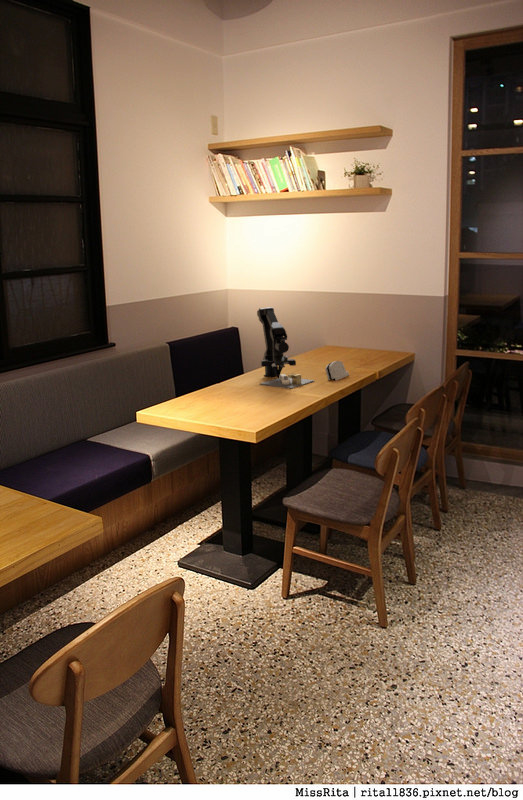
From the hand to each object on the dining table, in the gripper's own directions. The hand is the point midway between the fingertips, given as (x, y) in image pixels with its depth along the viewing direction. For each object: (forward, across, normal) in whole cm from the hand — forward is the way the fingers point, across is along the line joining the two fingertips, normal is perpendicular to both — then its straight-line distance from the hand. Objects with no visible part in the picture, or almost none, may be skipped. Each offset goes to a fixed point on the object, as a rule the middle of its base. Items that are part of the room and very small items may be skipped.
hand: (278, 378), depth 376 cm
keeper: (+1, +8, -10) cm, 13 cm away
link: (+1, +3, -7) cm, 7 cm away
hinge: (+1, +32, +2) cm, 33 cm away
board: (+2, +4, -6) cm, 7 cm away
